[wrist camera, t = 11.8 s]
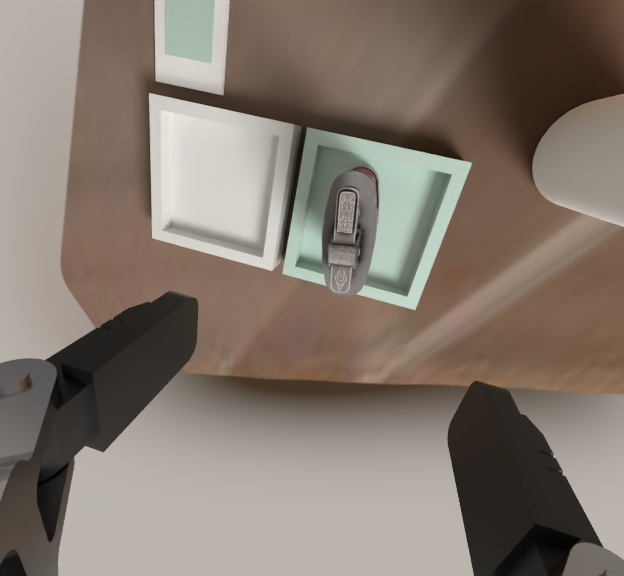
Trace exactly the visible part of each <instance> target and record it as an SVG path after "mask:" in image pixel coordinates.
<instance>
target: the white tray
mask: <svg viewBox="0 0 624 576" xmlns="http://www.w3.org/2000/svg"><path fill="white" fill-rule="evenodd" d="M149 112H150V158H151V203H152V238H154V239H157V240H161V241H165V242H168V243H172V244H176V245H179V246H183V247H187V248H190V249H194V250H198V251H201V252H205V253H209V254H212V255H216V256H220V257H223V258H227V259H230V260H234V261H238V262H241V263H245V264H249V265H252V266H256V267H260V268H263V269H267V270H271V271H272V270H273V269H274V268H275V267H276V266H277V265H278V264H279V263H280V261H281V255H282V249H283V243H284V237H285V231H286V225H287V218H288V212H289V206H290V200H291V194H292V188H293V182H294V176H295V170H296V163H297V157H298V151H299V145H300V139H301V133H302V126H298V125H295V124H290V123H285V122H281V121H276V120H272V119H267V118H262V117H258V116H253V115H248V114H244V113H239V112H235V111H230V110H225V109H221V108H216V107H211V106H207V105H202V104H198V103H193V102H188V101H184V100H179V99H174V98H170V97H165V96H161V95H156V94H151V93H149Z"/></svg>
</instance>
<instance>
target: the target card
mask: <svg viewBox="0 0 624 576" xmlns="http://www.w3.org/2000/svg"><path fill="white" fill-rule="evenodd" d="M229 6H230V0H155V71H156V81H157V82H161V83H166V84H171V85H175V86H180V87H185V88H190V89H194V90H199V91H204V92H209V93H213V94H218V95H223V96H224V83H225V68H226V52H227V37H228V22H229Z"/></svg>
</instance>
